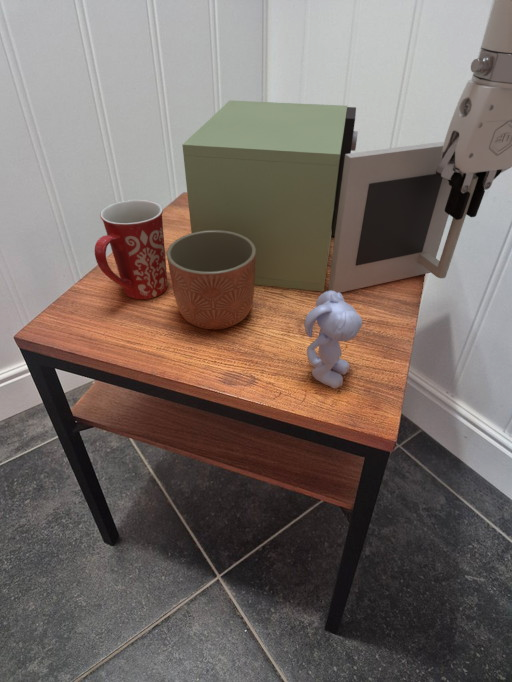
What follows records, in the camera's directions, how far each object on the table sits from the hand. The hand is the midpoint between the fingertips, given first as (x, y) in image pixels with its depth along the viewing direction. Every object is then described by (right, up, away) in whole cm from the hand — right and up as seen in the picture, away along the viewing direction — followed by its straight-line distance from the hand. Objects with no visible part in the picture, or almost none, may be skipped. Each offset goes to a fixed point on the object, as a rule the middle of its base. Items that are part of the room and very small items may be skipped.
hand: (459, 213), depth 64 cm
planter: (-36, -14, +4) cm, 39 cm away
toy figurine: (-20, -23, -6) cm, 31 cm away
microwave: (-25, 0, +21) cm, 33 cm away
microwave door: (-7, -10, +9) cm, 15 cm away
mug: (-49, -11, +9) cm, 51 cm away
